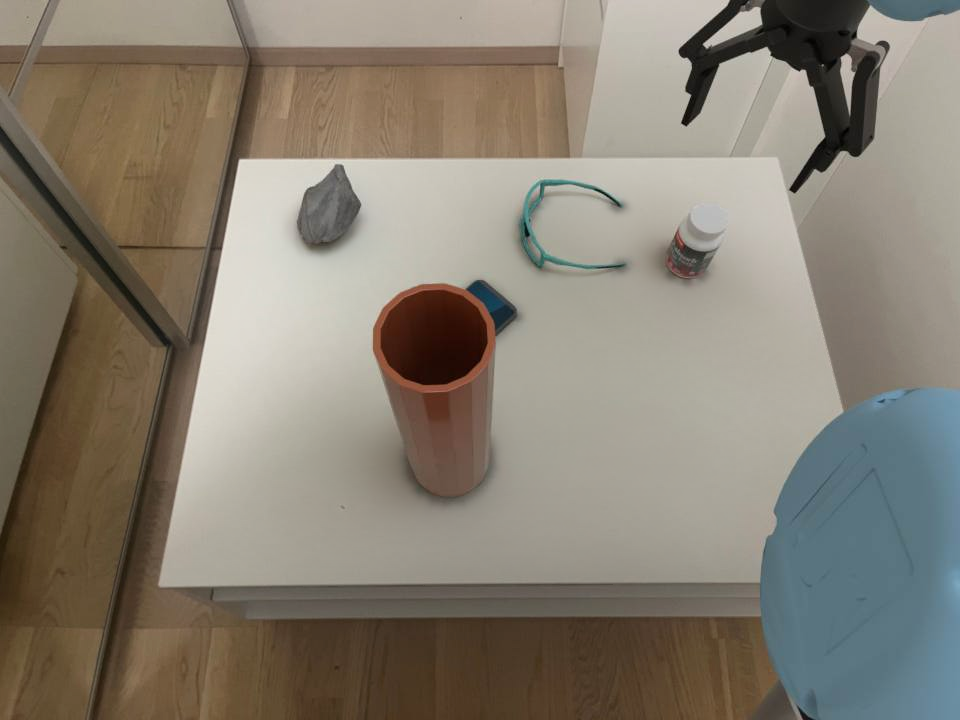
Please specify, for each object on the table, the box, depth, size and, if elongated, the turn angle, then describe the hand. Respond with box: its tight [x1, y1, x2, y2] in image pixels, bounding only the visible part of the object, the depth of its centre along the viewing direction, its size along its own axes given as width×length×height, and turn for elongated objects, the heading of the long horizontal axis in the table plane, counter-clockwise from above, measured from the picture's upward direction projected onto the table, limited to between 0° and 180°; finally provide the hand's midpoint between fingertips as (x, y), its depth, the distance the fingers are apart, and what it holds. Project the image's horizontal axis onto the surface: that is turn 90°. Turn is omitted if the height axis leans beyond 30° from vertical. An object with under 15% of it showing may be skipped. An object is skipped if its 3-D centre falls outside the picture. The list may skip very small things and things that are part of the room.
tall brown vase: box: [372, 282, 497, 498], centre depth 65 cm, size 9×9×32 cm
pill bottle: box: [665, 202, 729, 279], centre depth 86 cm, size 6×6×10 cm
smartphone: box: [464, 279, 518, 337], centre depth 86 cm, size 8×15×1 cm, turn 135°
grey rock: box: [296, 163, 362, 245], centre depth 90 cm, size 11×9×8 cm
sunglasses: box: [519, 179, 628, 270], centre depth 91 cm, size 14×15×5 cm
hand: (742, 150), depth 72 cm, fingers open, 13 cm apart
